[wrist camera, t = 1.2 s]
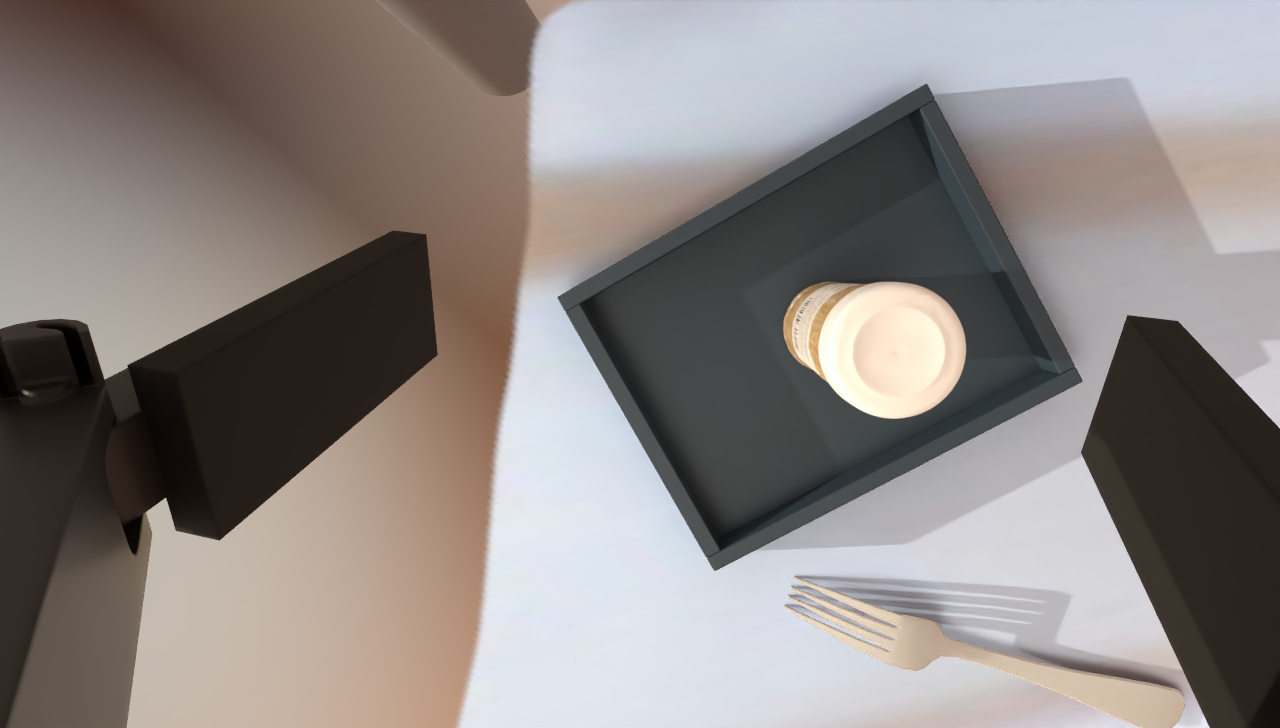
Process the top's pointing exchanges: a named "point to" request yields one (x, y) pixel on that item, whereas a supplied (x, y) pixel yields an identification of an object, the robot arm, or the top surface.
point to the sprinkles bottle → (878, 344)
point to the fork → (991, 660)
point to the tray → (754, 338)
